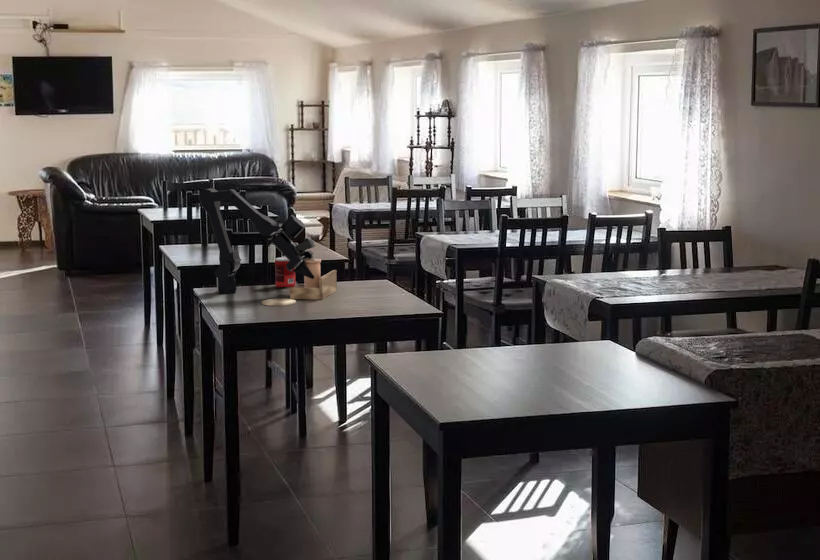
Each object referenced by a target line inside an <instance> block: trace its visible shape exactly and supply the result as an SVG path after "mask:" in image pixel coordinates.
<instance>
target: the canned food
mask: <svg viewBox="0 0 820 560" xmlns="http://www.w3.org/2000/svg"><path fill="white" fill-rule="evenodd" d="M288 262H289V260H288V259H287V258H286V257H285V256H284V257H283V256H281V257H276V258H274V271H275V272H274V274H275V276H274V277H275V287H276V288H278V287H279V288H280V287H281V288H280V289H283V288H282V287H296V272H293V270H294V269H295V268H293V270H292V271H289V270H288V269H287V268H286V264H287V263H288Z"/></svg>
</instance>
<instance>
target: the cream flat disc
mask: <svg viewBox="0 0 820 560" xmlns="http://www.w3.org/2000/svg"><path fill="white" fill-rule="evenodd" d="M295 304H297V299H290V298H270V299H264V300H262V301H261V305H264V306H268V307H269V306H270V307H284V306H292V305H295Z"/></svg>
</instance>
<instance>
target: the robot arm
mask: <svg viewBox="0 0 820 560" xmlns="http://www.w3.org/2000/svg"><path fill="white" fill-rule="evenodd" d="M198 200H199V203H200V204H201V206H202V208H203V209H204V211H205V212H206V214H207V215H208V218H209V221H210V225H211V227H212V230H213V234H214V237H215V240H216V244H217V247H218V251H219V255H218V261H219V266H218V267H217V269H216V270H215V271H214V272H213V273H214V276H215V278H216V290H215V291H216V292H217V294H219V295H220V294H234V293H235V294H236V292H237V279H235V275H236V273H237V271H238V269H240V266H241V262H242V258H241V257H240V253H239V250H238V249H237V250H234V248H232V244H231V242H230V239H229V238H230V237H229V235H228V233H227V229H226V226H225V222H224V219H223V216H222V213H221V202H222V201H223V202H224V201H228V202H229V203H230V204H231V205H232V206H234V207H235V208H236V209H237V210H238V211H240V213H242V215H244V216H245V217H246V218H247V219H249V221H251V223H252V225H253V226H254V227H255V229H256V230H257V232H258V233H259V234H260V235H261V236H263V237H270V236H272V237H271V238H267V239H266V242H267V243H266V246H267V247H271V246H272V245H273V246H274V247H276V248H277V249H278V251H279V252H280V253H281V257H286V258H287V259H288V260H289V262H288V263H287V264H286V268H287V269H288V270H289V271H292V270H293V268H295V269H294V270H293V272H295V274H299V275H302V276H303V277H304V276H306V277H309V278H311V279H313V278H314V275H313V274H312V272H311V271H310V270H309V268H308V267H307V266H306V259H310V258H314V255H315V254H314V252H313V251H312V250H311V249H313V248H315V247H316V246H315V241H314V240H313V239H312V238H310V237H306V238H304V239H303V242H302V243H298V242H293V241H292V240H291V238H292V239H293V238H294V239H296V237H297V236H299V234H300V233H301V232H302V231H303V230H304V229H305V228H306V225H305V224H304V222H303V221H302V220H301V219H299V218H297V217H296V216H295V215H293V214H290V215H289V216H288V218H287V219H286V220H285V221H284V222H283V223H280V222H277V221H276V220H274V219H272V218H271V217H270V216H267V215H265V214H263V213H261V212H259V210H257V209H256V208H255V207H254V206H253V205H252V204H251V203H250V202H248V200H246V199H245V198H244V197H243V196H242V195H240V194H239V193H238V192H237V190H235V189H232V188H231V189H227V190H226V189H225V190H223V189H222V190H221V189H220V190H217V189H215V188H213V187H212V188H211V187H210V188H206V189H202V190H201V191H200V192H199V195H198ZM277 232H279V233H277ZM303 259H305V260H303Z"/></svg>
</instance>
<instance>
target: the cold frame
mask: <svg viewBox="0 0 820 560" xmlns="http://www.w3.org/2000/svg"><path fill="white" fill-rule="evenodd" d="M337 272H338V271H337V269H333V270H331V271H328V273H326V274H324V275H322V276H320V278H319V288H304V287H299V286H298V287H296V286H295V287H290V288H289V299H293V300H324V299H326V298H327V297H328V296H331V295H332V294H333V293H335V292H337V291H336V290H337V288H338V287H337V285H338V284H337V280H338V279H337Z"/></svg>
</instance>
